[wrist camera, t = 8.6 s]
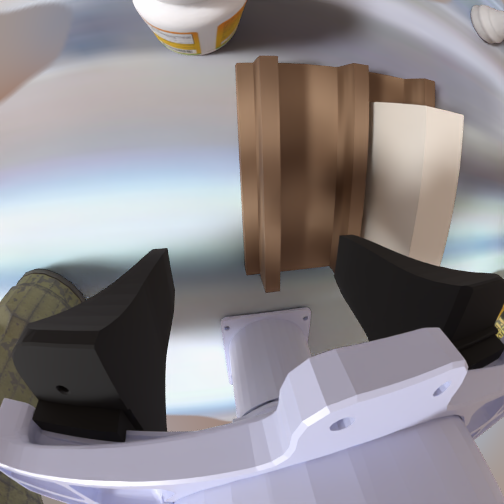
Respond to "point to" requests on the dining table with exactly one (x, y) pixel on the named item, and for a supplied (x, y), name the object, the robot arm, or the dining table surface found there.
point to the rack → (306, 157)
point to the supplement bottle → (192, 23)
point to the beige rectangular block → (411, 178)
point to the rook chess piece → (488, 23)
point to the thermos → (6, 336)
